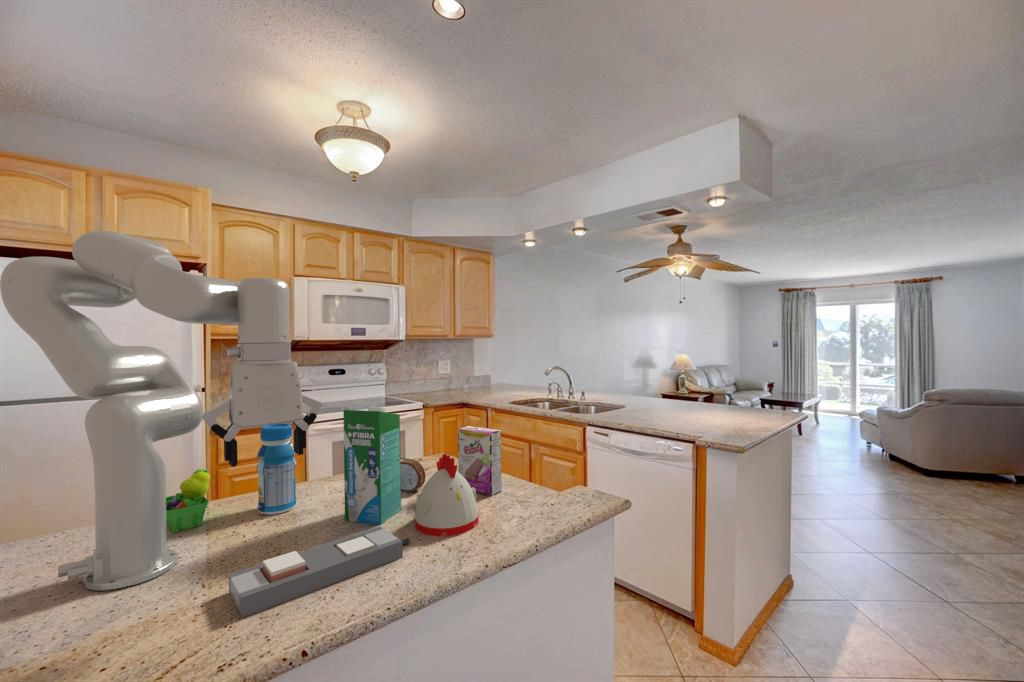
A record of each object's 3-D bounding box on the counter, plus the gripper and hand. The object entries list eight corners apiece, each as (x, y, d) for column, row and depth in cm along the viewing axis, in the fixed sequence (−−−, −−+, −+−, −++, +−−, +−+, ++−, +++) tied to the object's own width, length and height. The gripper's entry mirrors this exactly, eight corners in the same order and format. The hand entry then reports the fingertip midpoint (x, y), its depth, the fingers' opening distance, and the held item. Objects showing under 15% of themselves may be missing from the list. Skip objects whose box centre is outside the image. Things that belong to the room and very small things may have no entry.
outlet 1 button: (271, 585, 69) (271, 572, 69) (263, 573, 73) (263, 560, 73) (305, 573, 73) (305, 561, 73) (295, 562, 76) (295, 550, 76)
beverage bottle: (278, 517, 102) (277, 430, 102) (248, 513, 104) (247, 428, 104) (304, 504, 110) (303, 423, 110) (276, 501, 112) (275, 421, 112)
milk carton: (401, 509, 105) (399, 404, 105) (380, 525, 97) (378, 410, 97) (368, 506, 108) (366, 403, 108) (344, 521, 99) (342, 409, 99)
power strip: (241, 618, 65) (241, 597, 65) (228, 592, 71) (228, 574, 71) (421, 550, 85) (421, 534, 85) (398, 535, 92) (398, 520, 92)
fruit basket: (158, 520, 101) (157, 471, 101) (205, 509, 107) (204, 463, 107) (165, 536, 93) (165, 482, 93) (216, 523, 99) (215, 472, 99)
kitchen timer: (432, 542, 88) (431, 467, 88) (404, 520, 100) (403, 453, 99) (490, 524, 97) (489, 456, 97) (459, 505, 108) (458, 444, 108)
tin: (426, 491, 119) (425, 459, 119) (419, 494, 116) (419, 462, 116) (380, 484, 124) (380, 454, 124) (373, 488, 121) (372, 457, 121)
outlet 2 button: (347, 565, 77) (347, 554, 77) (336, 555, 81) (336, 544, 81) (374, 555, 81) (374, 544, 81) (362, 546, 84) (362, 536, 84)
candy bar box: (457, 489, 119) (456, 428, 119) (468, 484, 123) (468, 425, 123) (491, 497, 113) (491, 432, 113) (502, 491, 118) (501, 429, 117)
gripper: (204, 357, 64) (207, 475, 64) (327, 353, 76) (329, 453, 76) (197, 356, 70) (199, 464, 70) (313, 352, 81) (314, 446, 81)
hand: (267, 458), depth 73 cm, fingers open, 9 cm apart
